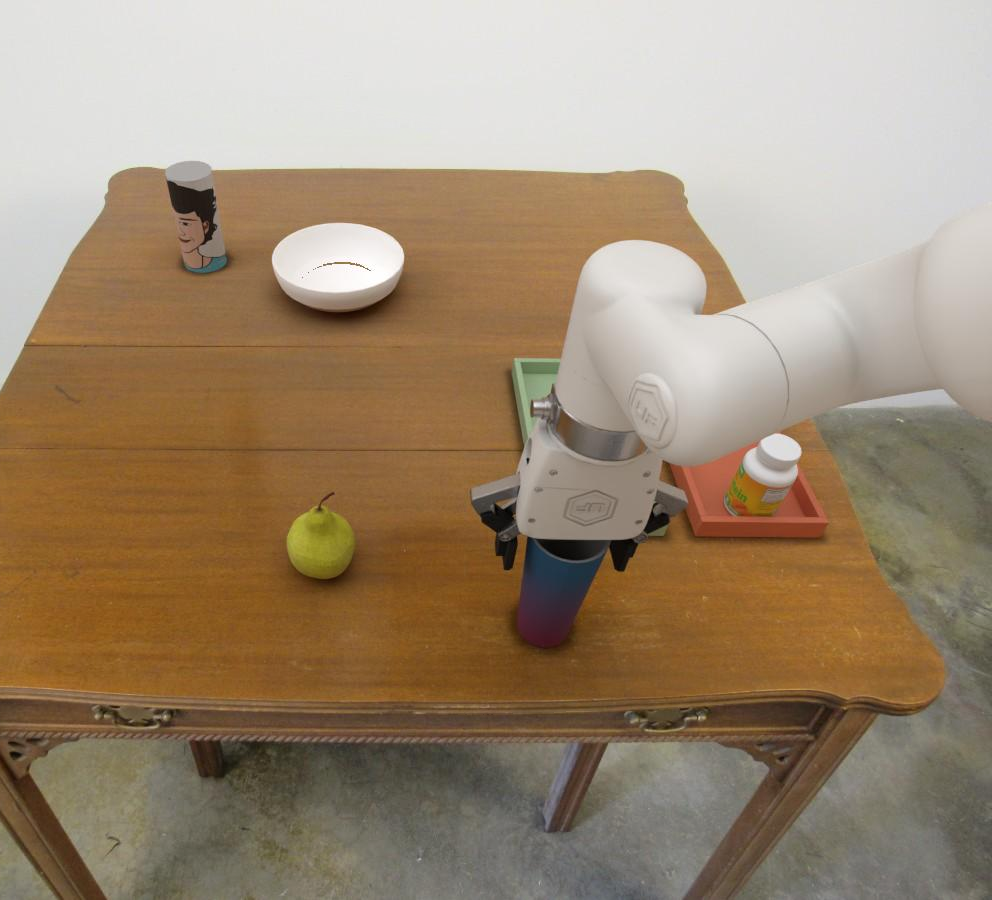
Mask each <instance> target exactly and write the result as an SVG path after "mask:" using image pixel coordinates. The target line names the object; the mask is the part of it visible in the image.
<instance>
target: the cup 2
mask: <svg viewBox="0 0 992 900" xmlns="http://www.w3.org/2000/svg"><path fill="white" fill-rule="evenodd" d="M610 542H611V540H564V539H538V538H532V537H528V536H526V543H525V544H526V545H525V553H524V560H523V568H522V576H521V584H520V592H519V599H518V608H517V615H516V627H517V628H516V629H517V631H518V633H519V635H520V636H521V637H522V638H523V640H525V641H526V642H527V643H529V644H530V645H532V646H535V647H537V648H541V649H549V648H550V649H551V648H555V647H557V646H559V645H561V644H562V643H563V642H564V641H565V639H566V638H567V637H568V635H569V632H570V630H571V628H572V626H573V624H574V622H575V620H576V617H577V615H578V613H579V611H580V609H581V608H582V605H583V604H584V603H583V602H584V600H585V598H586V596H587V594H588V592H589V590H590V588H591V586H592V585H593V581H594V579H595V577H596V575H597V573H598V572H599V569H600V567H601V564H602V563H603V560H604V559H605V556H606V554H607V552H608V550H609V545H610Z"/></svg>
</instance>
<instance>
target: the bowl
mask: <svg viewBox="0 0 992 900" xmlns="http://www.w3.org/2000/svg"><path fill="white" fill-rule="evenodd" d="M334 262H351V263H355V264H356V263H357V264H360V265H362V266H364V267H365V268H368V269H369V270H371V271H369V270H367V269H365V268H363V267H360V266H356V265H350V264H332V265H326V266H323V264H327V263H334ZM404 263H405V253H404V248H403V247H402V245H401V244H400V243H399V242H398V241H397V239H396V238H394V237H393V236H392V235H390V234H389V233H386V232H385V231H383V230H380V229H378V228H375V227H372V226H368V225H364V224H358V223H353V222H352V223H350V222H328V223H322V224H316V225H312V226H311V225H310V226H308V227H304V228H302V229H299V230H296V231H295V232H292V233H290V234H289V235H287V236H286V237H285V238H283V239H282V240H281V241H280V242H279V243H278V244H277V245H276V246H275V248H274V249H273V251H272V254H271V265H272V269H273V273H274V276H275V278H276V280H277V282H278V285H279V286H280V287H281V289H282V290H283V291H284V293H285V294H286V295H287V296H289V298H291V299H292V300H294V301H296V302H298V303H300V304H302V305H304V306H306V307H307V308H310V309H314V310H317V311H322V312H327V313H348V312H355V311H359V310H362V309H366V308H368V307H370V306H372V305H375V304H376V303H378V302H379V301H381V300H383V299H384V298H386V297H387V296H389V295H390V294H391V293H392V292H393V291H394V289H396V287H397V285H398V283H399V282H400V281H399V280H400V279H401V277H402V274H403V269H404ZM319 266H322V267H319ZM317 267H319V268H317ZM315 268H316V269H315ZM313 269H314V270H313ZM308 272H309V273H308ZM302 277H303V278H302Z"/></svg>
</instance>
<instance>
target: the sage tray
mask: <svg viewBox="0 0 992 900" xmlns="http://www.w3.org/2000/svg"><path fill="white" fill-rule="evenodd" d="M512 361H513V362H512V368H511V379H512V384H513V390H514V396H515V402H516V406H517V407H516V408H517V413H518V420H519V425H520V431H521V436H522V443H523V448H524V447H525V445H526V442H527V440H528V438H529V435H530V433H531V431H532V429H533V427H534V425H535V423H536V421H537V420H538V418H531V415H530V404H531V400H532V399H542V397H547V396H548V394H549V393H550V392H551V388H552V384H553V383H556V379H557V374H558V370H559V365H560V361H561V358H551V357H550V358H549V357H548V358H546V357H545V358H543V357H539V358H538V357H537V358H536V357H535V358H534V357H514V358H513V360H512ZM654 503H657V502H655V501H654ZM654 503H653V504H654ZM669 524H670V523H669ZM669 524H668V525H666V526H664V527H662V528H660V529H658V530H656V531H653V532H651V533H649V534H648V537H664V536H665V534H666V531H667V529H668V527H669Z"/></svg>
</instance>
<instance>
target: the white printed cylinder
mask: <svg viewBox="0 0 992 900" xmlns="http://www.w3.org/2000/svg"><path fill="white" fill-rule="evenodd" d="M164 175H165V181H166V185H167V190H168V194H169V199H170V204H171V208H172V212H173V213H172V214H173V217H174V222H175V227H176V231H177V236H178V241H179V246H180V250H181V254H182V260H183V264H184V267H185V268H186V269H187V270H189V271H191V272H194V273H197V274H207V273H212V272H215V271H218V270H220V269H222V268H224V266H226V264H227V262H228V259H227V252H226V247H225V241H224V234H223V228H222V223H221V217H220V210H219V205H218V199H217V193H216V188H215V180H214V174H213V169H212V166H211V165H210V164H209V163H207V162H204V161H200V160H185V161H180V162H176V163H174V164H171V165H169V166H168V167H167V168H166V169H165V171H164ZM225 255H226V257H225ZM224 258H225V259H224ZM223 259H224V260H223ZM222 260H223V261H222ZM221 261H222V262H221ZM185 262H186V263H187V264H186V263H185ZM219 262H220V263H219ZM188 264H189V265H188ZM209 266H210V267H209Z"/></svg>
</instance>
